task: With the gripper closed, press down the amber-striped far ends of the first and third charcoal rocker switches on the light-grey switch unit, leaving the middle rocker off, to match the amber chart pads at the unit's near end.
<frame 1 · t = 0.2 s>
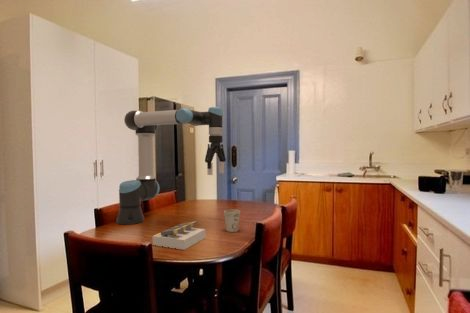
hand: (215, 174, 162), 28 cm above the table, fingers open, 13 cm apart
rocker 1: (172, 231, 126), point 6 cm above the table, hinge at -13.0°
rocker 2: (180, 228, 132), point 6 cm above the table, hinge at -13.0°
rocker 3: (187, 224, 138), point 6 cm above the table, hinge at -13.0°
mug: (230, 229, 152), on the table
switch unit: (180, 241, 132), on the table
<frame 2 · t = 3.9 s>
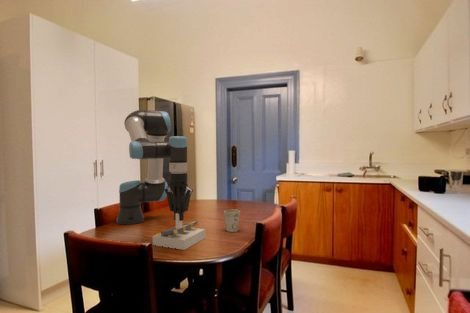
hand: (179, 228, 125), 8 cm above the table, fingers closed
rocker 1: (172, 231, 126), point 6 cm above the table, hinge at -13.0°, touching gripper
everything else where it was.
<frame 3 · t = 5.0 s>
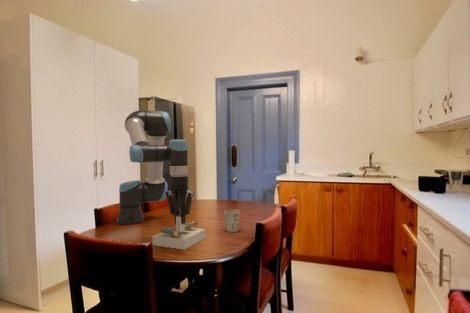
hand: (180, 231, 125), 7 cm above the table, fingers closed, pressing on rocker 1
rocker 1: (172, 231, 126), point 6 cm above the table, hinge at 4.8°, touching gripper
everything else where it was.
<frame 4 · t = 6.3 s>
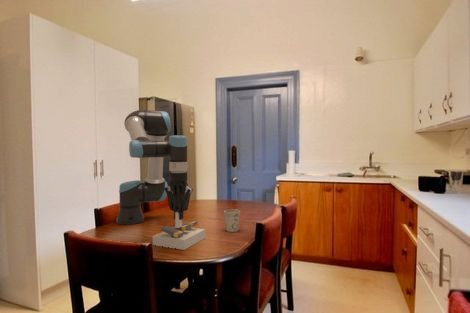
hand: (178, 226, 125), 8 cm above the table, fingers closed
rocker 1: (172, 231, 126), point 6 cm above the table, hinge at 14.1°
everything else where it was.
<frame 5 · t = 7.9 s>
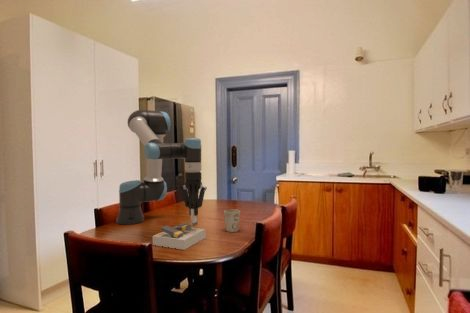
hand: (193, 222, 136), 8 cm above the table, fingers closed
rocker 1: (172, 231, 126), point 6 cm above the table, hinge at 14.9°
rocker 3: (187, 224, 138), point 6 cm above the table, hinge at -13.0°, touching gripper
everything else where it was.
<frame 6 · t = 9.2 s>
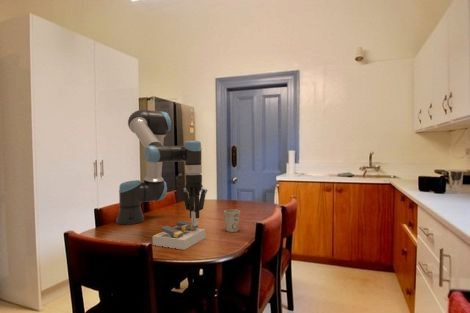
hand: (194, 225, 136), 6 cm above the table, fingers closed, pressing on rocker 3
rocker 3: (187, 224, 138), point 6 cm above the table, hinge at 8.5°, touching gripper
everything else where it was.
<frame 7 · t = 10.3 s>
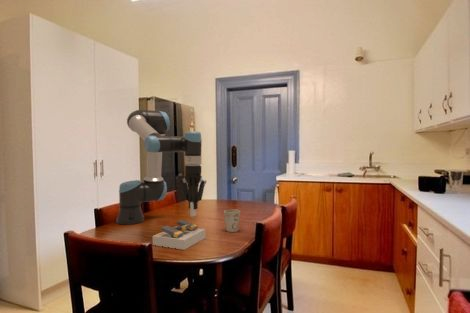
hand: (193, 215, 136), 11 cm above the table, fingers closed
rocker 3: (187, 224, 138), point 6 cm above the table, hinge at 14.2°
everything else where it was.
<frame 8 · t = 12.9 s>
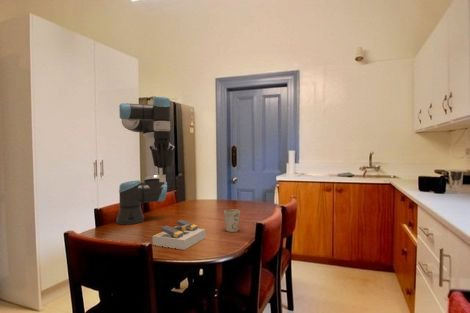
hand: (162, 181, 136), 26 cm above the table, fingers closed
rocker 3: (187, 224, 138), point 6 cm above the table, hinge at 14.9°
everything else where it was.
at the end: rocker 1 at +15° (first picture: -13°); rocker 3 at +15° (first picture: -13°); rocker 2 at -13° (first picture: -13°) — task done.
